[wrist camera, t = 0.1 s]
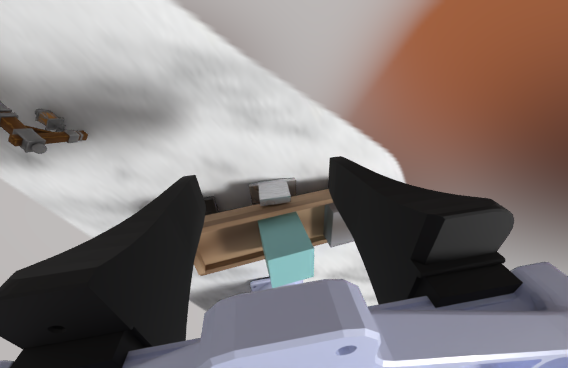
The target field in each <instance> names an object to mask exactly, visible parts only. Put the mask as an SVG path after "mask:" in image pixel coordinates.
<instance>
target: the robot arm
mask: <svg viewBox="0 0 568 368" xmlns="http://www.w3.org/2000/svg"><path fill="white" fill-rule="evenodd" d="M328 189H329V192H330V195H331V198H332V200H333V203H334V205H335V206H336V208H337V210H338V212H339V214H340V215H341V217H342V219H343V221H344V222H345V224H346V226H347V228H348V229H349V231H350V233H351V235H352V237H353V239H354V241H355V243H356V246H357V248H358V250H359V253H360V255H361V258H362V260H363V263H364V265H365V268H366V270H367V273H368V276H369V278H370V281H371V284H372V287H373V289H374V292H375V295H376V298H377V301H378V304H379V305H374V306H369V307H367V305H366V302H365V300H364V298H363V296H362V294H361V291H360V289H359V287H358V286H357V285H355V284H353V283H350V282H348V281H346V280H343V279H323V280H318V281H312V282H306V283H303V280H300V281H296V282H293V283H290V284H286V285H283V286H279V287H276V288H272V285H271V281H270V278H268V279H262V280H256V281H252V282H250V286H251V290H252V292H248V293H243V294H237V295H234V296H231V297H228V298H225V299H222V300H219V301H218V302H217V303H216V304H214V305H213V306H212V307H211V308H210V309H209V310H208V311H207V312H206V313H205V314H204V321H203V328H202V334H201V338H197V339H192V340H187V341H186V324H187V314H188V302H189V294H190V286H191V278H192V271H193V265H194V260H195V256H196V252H197V248H198V244H199V241H200V237H201V233H202V229H203V225H204V220H205V210H206V205H205V202H204V199H203V196H202V193H201V190H200V187H199V184H198V181H197V178H196V175H191V176H184V177H182V178H180V179H179V180H178V181H177V182H175V183H174V184H173V185H172V186H170V187H169V188H168V189H167V190H166V191H164V192H163V193H162V194H161V195H160V196H158V197H157V198H156V199H154V200H153V201H152V202H150V203H149V204H148V205H147V206H145V207H144V208H143V209H141V210H140V211H138V212H137V213H135V214H134V215H133V216H131V217H129V218H128V219H126V220H125V221H123V222H121V223H120V224H118V225H116V226H115V227H113V228H111V229H109V230H107V231H106V232H104V233H102V234H100V235H98V236H96V237H95V238H93V239H91V240H89V241H86V242H85V243H83V244H80V245H78V246H76V247H74V248H72V249H69V250H67V251H65V252H63V253H61V254H59V255H56V256H54V257H51V258H48V259H46V260H44V261H41V262H38V263H36V264H34V265H31V266H29V267H26V268H23V269H21V270H18V271H16V272H15V273H14V274H13V275H12V276H11V277H10V278H9V279H8V280H7V281H6V282H5V283H4V284H3V285H2V286H1V287H0V337H2V338H4V339H6V340H7V341H9V342H11V343H13V344H15V345H17V346H18V347H20V348H22V349H23V351H22V352H21V353H20V355H19V356H18V357H17V359H16V360H15V362H14V361H6V360H3V361H0V368H568V276H567V275H565V274H564V273H563V272H561V271H560V270H559V269H557V268H556V267H554V266H553V265H552V264H550V263H549V262H541V263H535V264H530V265H525V266H520V267H517V268H514V269H513V270H511V271H509V270H508V269H507V268H506V267H505V266H504V265H502V264H501V263H504V262H505V258H504V257H503V256H502V255H500V254H499V253H498V252H497V251H498V249H499V248H500V246H501V245H502V244H503V242H504V241H505V239H506V238H507V236H508V235H509V234H510V231H511V230H512V228H513V224H514V217H513V214H512V213H511V212H510V211H508V210H507V209H505V208H504V207H502V206H501V205H499V204H498V203H496V202H495V201H493V200H492V199H488V198H479V197H470V196H461V195H455V194H449V193H443V192H438V191H433V190H428V189H424V188H420V187H416V186H412V185H409V184H405V183H402V182H399V181H396V180H393V179H390V178H388V177H385V176H383V175H380V174H378V173H376V172H373V171H371V170H369V169H367V168H365V167H363V166H361V165H359V164H357V163H355V162H353V161H350V160H348V159H346V158H344V157H341V156H340V157H332V158H330V165H329V183H328Z"/></svg>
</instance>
